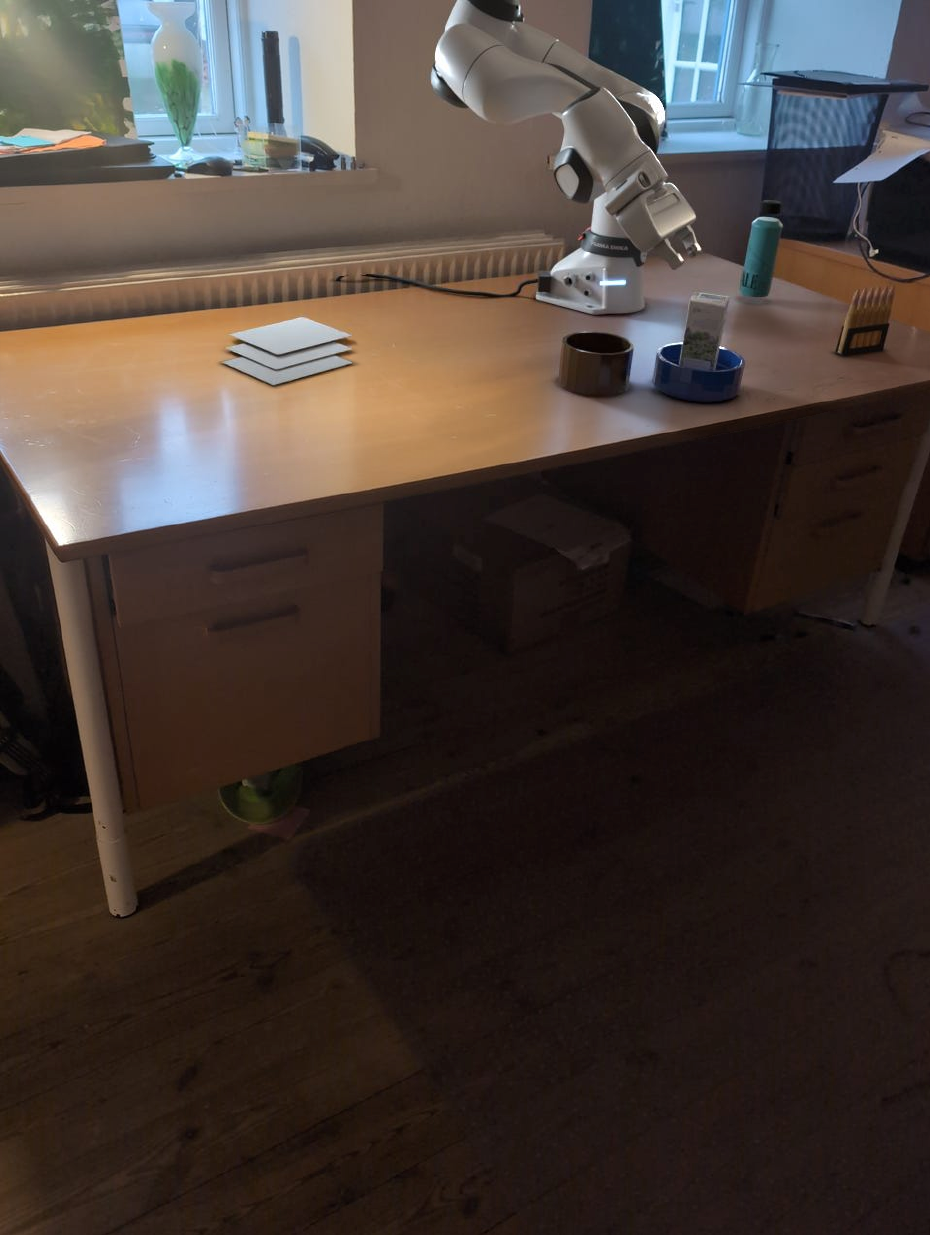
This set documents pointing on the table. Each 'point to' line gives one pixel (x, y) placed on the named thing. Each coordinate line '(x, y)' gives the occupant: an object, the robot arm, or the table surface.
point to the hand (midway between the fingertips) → (688, 261)
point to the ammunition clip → (866, 322)
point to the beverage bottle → (762, 252)
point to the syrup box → (703, 331)
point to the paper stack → (288, 350)
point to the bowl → (698, 376)
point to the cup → (595, 364)
